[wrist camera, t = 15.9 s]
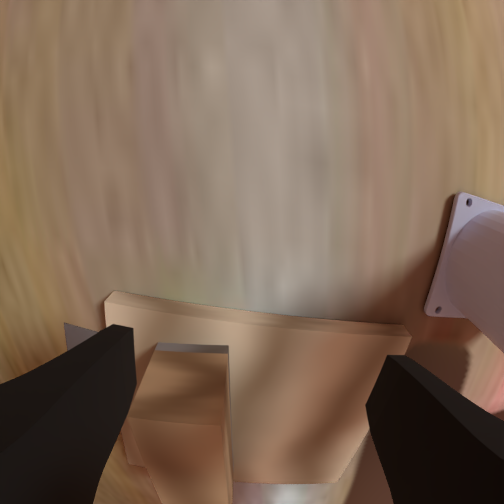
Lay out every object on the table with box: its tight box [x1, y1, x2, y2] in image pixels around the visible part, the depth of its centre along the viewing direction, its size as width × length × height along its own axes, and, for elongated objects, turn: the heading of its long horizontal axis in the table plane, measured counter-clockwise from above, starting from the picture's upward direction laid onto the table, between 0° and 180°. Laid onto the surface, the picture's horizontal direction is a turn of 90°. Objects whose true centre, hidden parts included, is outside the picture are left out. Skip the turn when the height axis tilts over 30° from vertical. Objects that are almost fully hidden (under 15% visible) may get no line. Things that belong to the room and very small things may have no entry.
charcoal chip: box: [64, 323, 98, 350], centre depth 20 cm, size 4×4×1 cm
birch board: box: [104, 291, 412, 484], centre depth 20 cm, size 18×16×2 cm
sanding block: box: [127, 342, 234, 504], centre depth 16 cm, size 4×12×6 cm, turn 179°
